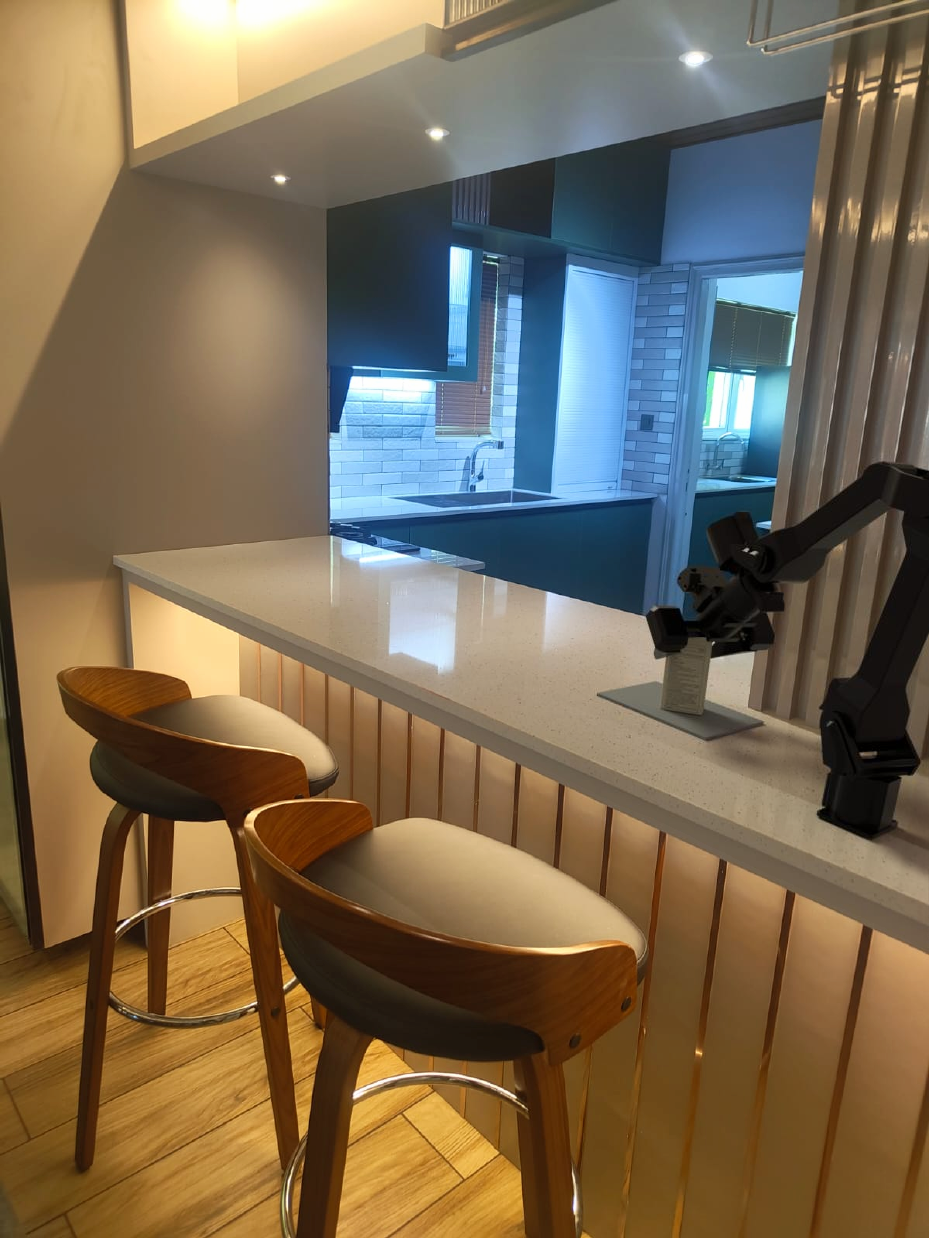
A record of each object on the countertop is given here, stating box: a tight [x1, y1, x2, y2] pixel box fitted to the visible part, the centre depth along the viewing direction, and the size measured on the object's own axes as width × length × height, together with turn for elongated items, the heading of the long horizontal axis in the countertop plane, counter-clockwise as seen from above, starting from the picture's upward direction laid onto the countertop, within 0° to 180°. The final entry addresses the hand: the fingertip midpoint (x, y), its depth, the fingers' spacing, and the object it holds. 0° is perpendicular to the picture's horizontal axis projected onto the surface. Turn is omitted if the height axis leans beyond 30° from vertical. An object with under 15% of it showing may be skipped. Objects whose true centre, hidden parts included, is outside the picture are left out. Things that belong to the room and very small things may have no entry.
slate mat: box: [596, 680, 765, 741], centre depth 130 cm, size 20×14×1 cm
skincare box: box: [660, 638, 714, 715], centre depth 128 cm, size 6×4×12 cm
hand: (682, 656), depth 129 cm, fingers open, 9 cm apart
